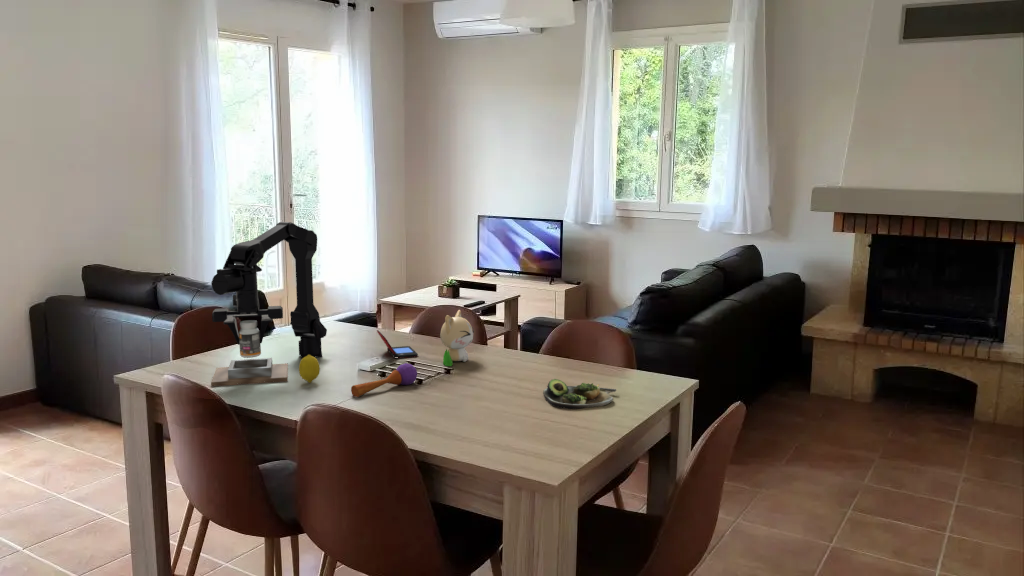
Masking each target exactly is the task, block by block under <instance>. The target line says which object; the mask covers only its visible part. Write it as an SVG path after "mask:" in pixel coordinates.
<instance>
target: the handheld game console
mask: <svg viewBox="0 0 1024 576" xmlns="http://www.w3.org/2000/svg"><path fill="white" fill-rule="evenodd" d="M376 332H377V334H378V335H379V337H380V338H381V339H382V341H383V343H384V344H385V346H386V347H387V349H386V350H387V352H388V353H390V354H391V355H392V357H393V356H394V357H398V359H407V358H408V359H409V358H416V357H418V356H419V355H418V352H416V351H415V350H414V349H413V348H412V347H411V346H410V345H406V346H393V347H392V345H391V344H390V342H389V340H388V339H387V338H386V337H385V335H384V334H382V333H381V331H380V330H376ZM394 357H393V358H394Z"/></svg>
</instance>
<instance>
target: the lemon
mask: <svg viewBox="0 0 1024 576" xmlns="http://www.w3.org/2000/svg"><path fill="white" fill-rule="evenodd" d="M320 367H321V366H320V363H319V360H318V359H317V357H313V356H311V355H307V356H306V357H304V358H301V360H300V361H299V366H298V372H299V376H300V377H301V379H302V380H303V381H306V382H307V383H309V384H311V383H312V382H313V381H314V380H316V379H317V378H318V377H319V375H320V371H321V370H320V369H321V368H320Z"/></svg>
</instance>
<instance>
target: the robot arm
mask: <svg viewBox="0 0 1024 576" xmlns="http://www.w3.org/2000/svg"><path fill="white" fill-rule="evenodd" d="M283 241H285V242H287V243H288V249H289V252H290V253H291V256H293V258H294V262H295V263H294V266H295V285H296V286H295V288H296V306H295V308H294V310H292V311H290V313H289V314H290V315H289V316H290V322H289V323H290V325H291V328H292V331H293V334H294V337H295V338H296V337H299V338H300V340H298V355H299V356H300V359H303V358H304V357H306V356H307V355H311V356H313V357H315V358H322V357H323V351H322V339H323V338H325V337H326V336H327V332H328V329H327V328H326V326H325V325H324V324H323V323H322V322H321V318H320V313H319V311H318V309H317V308H316V306H315V305H314V282H313V281H314V280H313V257H314V255H315V254H316V252H317V250H318V249H317V248H318V236H317V233H315V232H314V230H310V229H306V228H304V227H301V226H299V225H297V224H295V223H293V222H291V221H280V222H277V223H276V224H275V225H274V226H273V227H271V228H269V229H268V230H266V231H264V232H263V233H262V234H259V235H258V236H257V237H255V238H253V239H252V240H251V239H250V240H246V241H242V242H239V243H236V244H233V245H232V246H231V247H230V252H229V253H228V256H227V258H226V260H225V262H224V265H223V267H222V268H219V269H216V274H215V275H214V276H213V277H212V280H211V283H210V284H211V288H212V290H213V291H214V293H215V294H217V295H220V296H221V295H226V294H231V293H236V294H233V295H232V306H233V307H234V308H236V309H237V310H231V311H230V310H229V308H226V307H225V308H222V307H221V308H215V309H214V310H213V311H212V314H211V318H212V320H211V321H212V322H213V323H221V322H223V325H227V326H228V328H229V329H230V330H231V333H232V334H233V337H234V339H235V342H236V344H237V346H240V345H239V330H238V323H237V318H251V317H254V318H255V317H261V321H260V330H259V331H260V344H262V343H263V339H264V336H265V332H266V329H267V326H268V324H269V323H272V322H273V320H280V319H284V311H283V306H282V305H269V306H268V307H267V309H260V300H259V299H260V298H259V292H258V291H259V289H258V274H257V273H260V272H262V271H263V269H262V268H261V267H260V266H259V265H258V264H259V262H260V261H261V260H263V258H264V256H265V253H266V252H267V251H269V250H270V249H272V248H273V247H275V246H276V245H278V244H280V243H281V242H283Z"/></svg>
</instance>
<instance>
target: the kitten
mask: <svg viewBox="0 0 1024 576" xmlns="http://www.w3.org/2000/svg"><path fill="white" fill-rule="evenodd" d="M444 320H445V322H444V323H443V324H442V325H441V329H440V335H439V336H440V340H441V343H442V344H443V345H444V346H445V347H447V348H446V349H445V351H444V354H443V359H442V364H443V366H445V367H452V366H453V362H461V361H462V362H463V363H466V362H467V361H468V360H469V353H468V352H467V350H466V348H467V347H468V346H469V345H470V344H471V343H472V341H473V338H474V333H475V331H474V328H473V327H472V325H471V323H470V322H469V321H468V320H467V319H466V318H465V317H462V311H461V309H458V310H457V312H455V316H452V317H451V316H450V315H448V314H447V315H446V316H445V318H444Z"/></svg>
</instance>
